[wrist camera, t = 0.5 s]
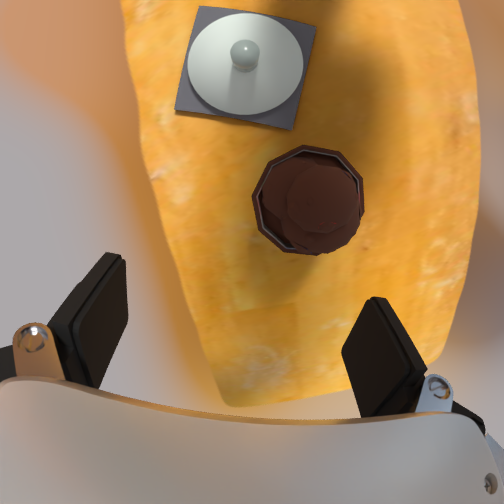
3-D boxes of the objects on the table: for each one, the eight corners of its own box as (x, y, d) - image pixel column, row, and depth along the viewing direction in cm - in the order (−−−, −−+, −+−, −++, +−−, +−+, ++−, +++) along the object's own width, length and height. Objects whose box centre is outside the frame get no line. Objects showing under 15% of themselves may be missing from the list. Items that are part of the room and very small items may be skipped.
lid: (202, 9, 24) (194, -9, 18) (311, 29, 25) (323, 14, 20) (179, 105, 29) (165, 104, 24) (288, 125, 31) (296, 127, 26)
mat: (200, 7, 24) (199, 5, 23) (315, 28, 25) (316, 27, 25) (175, 109, 30) (174, 109, 30) (291, 130, 32) (291, 130, 31)
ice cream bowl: (234, 164, 33) (225, 200, 20) (316, 123, 31) (364, 131, 18) (275, 234, 38) (290, 305, 24) (350, 197, 35) (404, 248, 22)
